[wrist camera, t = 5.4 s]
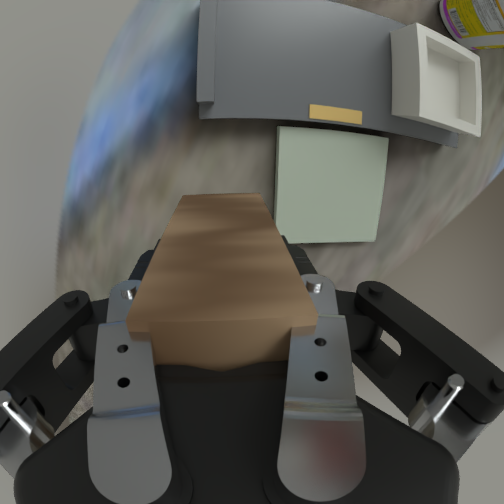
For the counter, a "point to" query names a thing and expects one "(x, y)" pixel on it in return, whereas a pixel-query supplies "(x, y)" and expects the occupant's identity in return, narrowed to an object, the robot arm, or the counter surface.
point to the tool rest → (328, 185)
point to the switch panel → (301, 65)
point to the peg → (221, 287)
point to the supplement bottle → (475, 22)
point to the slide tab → (435, 80)
